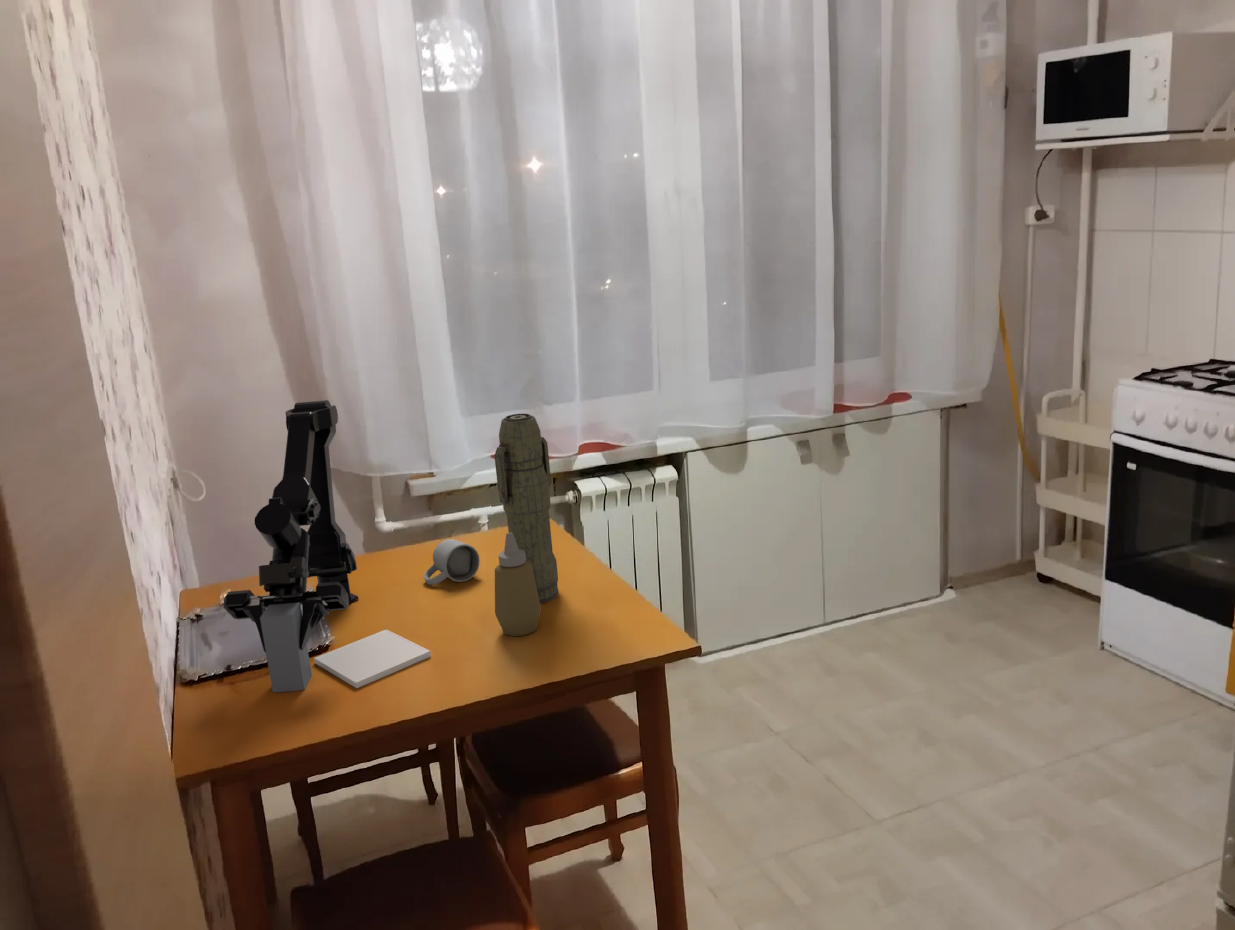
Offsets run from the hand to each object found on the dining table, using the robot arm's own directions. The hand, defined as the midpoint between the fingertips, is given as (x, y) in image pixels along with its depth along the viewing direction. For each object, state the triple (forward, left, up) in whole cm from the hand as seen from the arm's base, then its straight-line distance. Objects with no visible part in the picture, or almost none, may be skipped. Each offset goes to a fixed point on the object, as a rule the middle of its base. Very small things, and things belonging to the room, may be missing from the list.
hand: (283, 650), depth 156 cm
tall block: (-1, +1, -7) cm, 7 cm away
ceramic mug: (-18, +44, -7) cm, 48 cm away
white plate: (+2, +14, -7) cm, 16 cm away
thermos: (+3, +49, -7) cm, 50 cm away
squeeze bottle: (+13, +37, -7) cm, 40 cm away
